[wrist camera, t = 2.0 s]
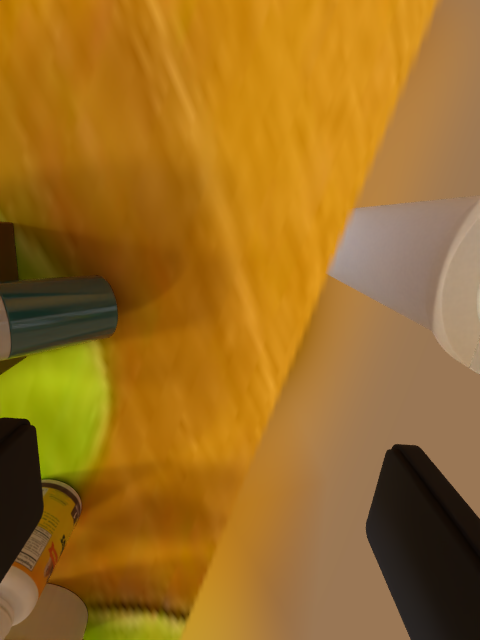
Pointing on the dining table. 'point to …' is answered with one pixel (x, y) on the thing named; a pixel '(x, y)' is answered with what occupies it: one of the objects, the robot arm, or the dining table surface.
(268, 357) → the dining table surface
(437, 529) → the robot arm
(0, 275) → the box
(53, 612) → the reusable coffee cup
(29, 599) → the supplement bottle
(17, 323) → the cylinder
